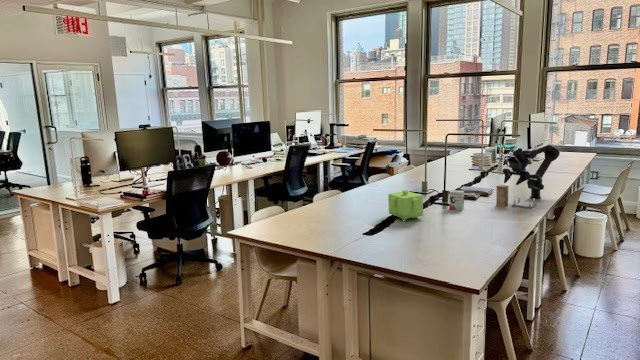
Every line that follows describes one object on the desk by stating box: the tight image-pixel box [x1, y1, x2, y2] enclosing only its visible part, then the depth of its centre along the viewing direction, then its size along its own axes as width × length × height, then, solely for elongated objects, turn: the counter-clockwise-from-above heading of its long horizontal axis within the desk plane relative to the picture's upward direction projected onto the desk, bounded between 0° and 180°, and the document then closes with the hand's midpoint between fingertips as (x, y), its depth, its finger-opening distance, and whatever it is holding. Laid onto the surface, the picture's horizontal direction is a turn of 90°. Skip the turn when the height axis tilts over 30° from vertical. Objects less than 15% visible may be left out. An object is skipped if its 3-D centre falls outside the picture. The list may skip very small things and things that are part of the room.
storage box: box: [387, 189, 424, 221], centre depth 271 cm, size 25×23×17 cm
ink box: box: [448, 189, 465, 211], centre depth 286 cm, size 9×5×12 cm, turn 62°
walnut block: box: [495, 184, 509, 207], centre depth 289 cm, size 5×5×13 cm
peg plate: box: [511, 196, 538, 209], centre depth 287 cm, size 12×12×4 cm
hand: (510, 183), depth 291 cm, fingers open, 9 cm apart
